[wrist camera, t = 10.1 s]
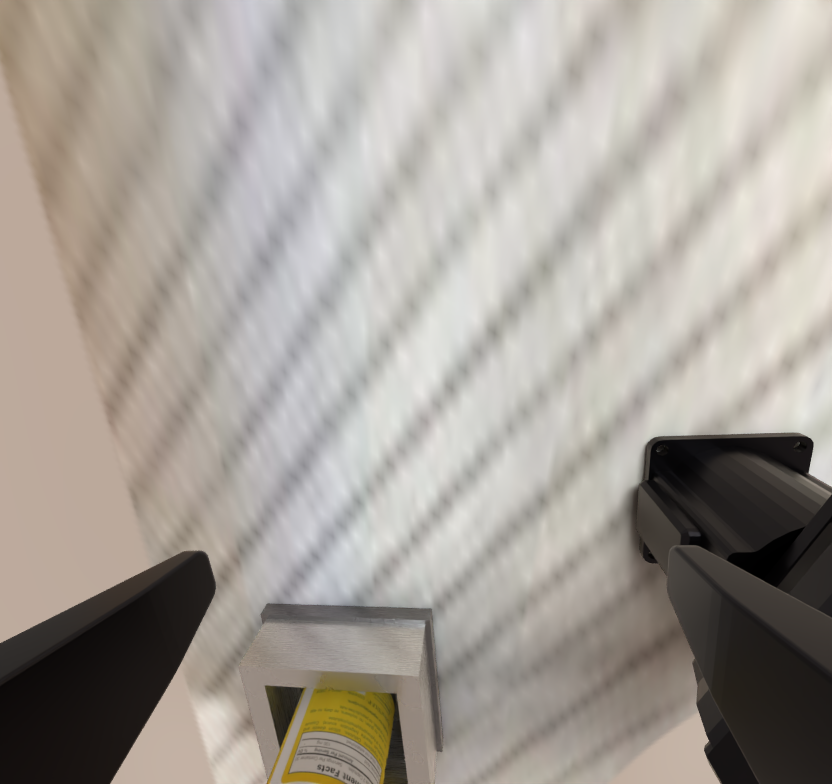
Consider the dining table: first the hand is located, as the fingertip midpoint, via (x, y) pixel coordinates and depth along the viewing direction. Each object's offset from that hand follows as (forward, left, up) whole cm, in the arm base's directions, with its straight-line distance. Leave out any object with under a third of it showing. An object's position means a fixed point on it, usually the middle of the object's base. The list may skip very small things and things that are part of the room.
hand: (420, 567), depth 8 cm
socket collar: (+7, +18, -12) cm, 22 cm away
